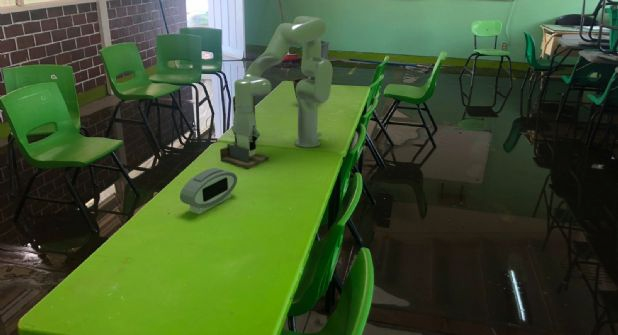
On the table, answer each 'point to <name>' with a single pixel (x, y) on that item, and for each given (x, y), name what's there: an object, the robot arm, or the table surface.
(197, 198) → the alarm clock
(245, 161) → the shelf
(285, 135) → the table surface
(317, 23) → the robot arm
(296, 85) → the plant pot
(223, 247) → the table surface
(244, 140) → the plain rectangular box
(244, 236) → the table surface
